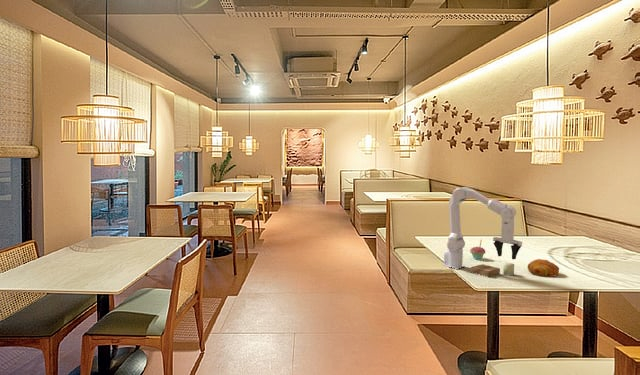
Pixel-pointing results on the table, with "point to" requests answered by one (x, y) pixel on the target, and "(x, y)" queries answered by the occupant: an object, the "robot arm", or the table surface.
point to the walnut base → (485, 270)
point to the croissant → (543, 268)
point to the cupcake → (477, 251)
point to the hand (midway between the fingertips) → (506, 257)
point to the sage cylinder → (508, 269)
